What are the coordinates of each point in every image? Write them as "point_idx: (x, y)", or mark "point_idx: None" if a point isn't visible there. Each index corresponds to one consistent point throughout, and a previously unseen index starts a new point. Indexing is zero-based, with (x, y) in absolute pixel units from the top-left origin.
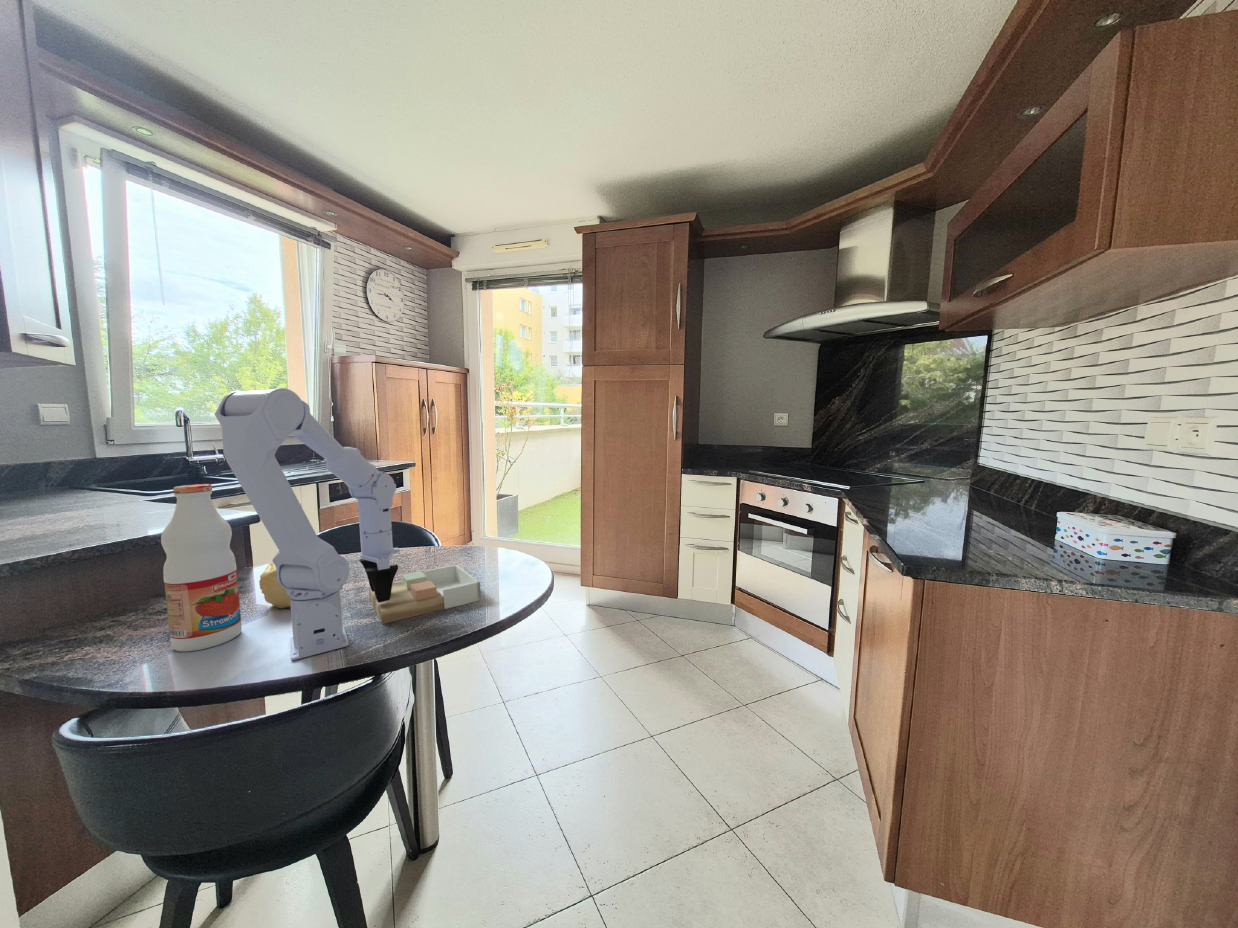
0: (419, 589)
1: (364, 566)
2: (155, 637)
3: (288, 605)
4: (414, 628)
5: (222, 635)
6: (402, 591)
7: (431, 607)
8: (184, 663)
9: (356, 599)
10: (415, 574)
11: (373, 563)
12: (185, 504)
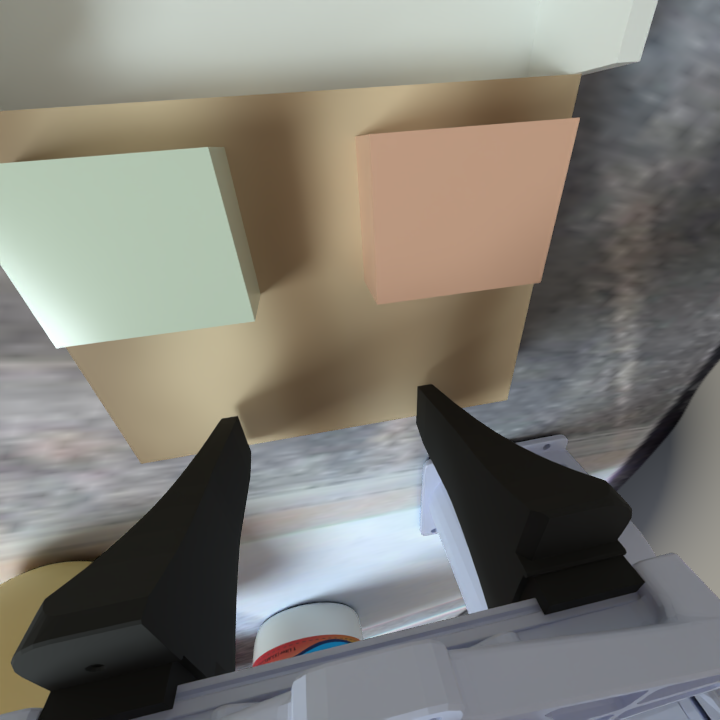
0: (528, 255)
1: (234, 629)
2: None
3: None
4: (613, 270)
5: (352, 624)
6: (286, 321)
7: None
8: (401, 610)
9: (136, 461)
10: (86, 242)
11: (213, 618)
12: None
